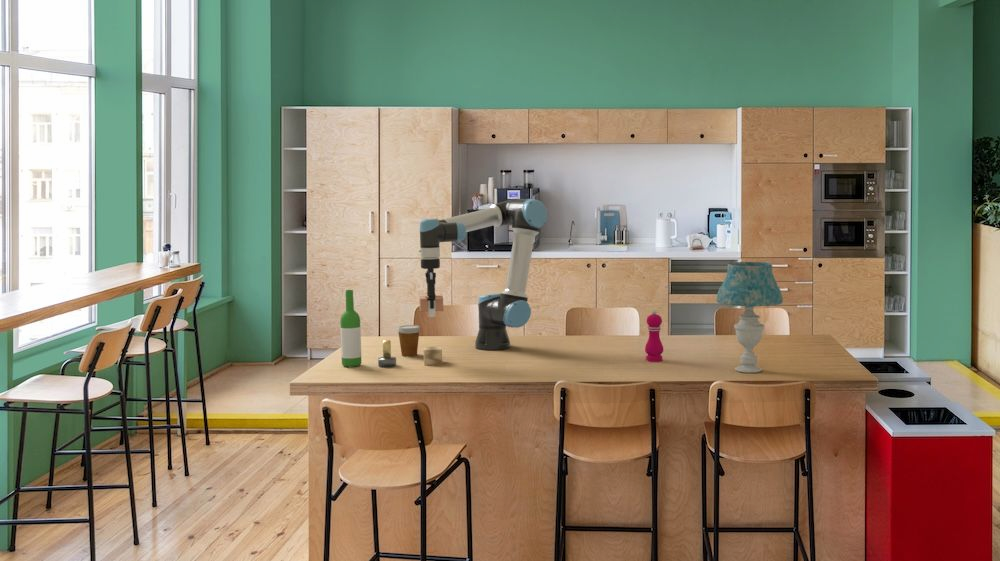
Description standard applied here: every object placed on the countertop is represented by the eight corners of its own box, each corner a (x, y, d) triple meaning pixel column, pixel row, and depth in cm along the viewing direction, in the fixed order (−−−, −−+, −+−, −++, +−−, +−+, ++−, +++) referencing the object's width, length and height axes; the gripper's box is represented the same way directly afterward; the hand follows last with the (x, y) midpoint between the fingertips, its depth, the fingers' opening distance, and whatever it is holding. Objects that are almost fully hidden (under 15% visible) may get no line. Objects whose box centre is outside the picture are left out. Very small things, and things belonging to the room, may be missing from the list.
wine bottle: (345, 368, 385) (342, 291, 382) (339, 365, 392) (336, 289, 389) (364, 366, 389) (362, 290, 385) (357, 363, 396) (355, 288, 392)
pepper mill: (664, 359, 393) (665, 309, 391) (661, 362, 386) (661, 312, 384) (646, 358, 395) (646, 308, 393) (643, 361, 389) (643, 311, 387)
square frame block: (442, 307, 395) (441, 295, 395) (443, 311, 386) (443, 298, 386) (419, 308, 394) (419, 296, 394) (420, 311, 385) (420, 299, 385)
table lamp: (793, 375, 359) (795, 265, 355) (732, 379, 354) (733, 268, 350) (763, 363, 382) (764, 260, 378) (705, 366, 377) (706, 262, 373)
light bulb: (396, 363, 393) (395, 338, 392) (396, 367, 386) (395, 341, 385) (378, 364, 392) (377, 339, 391) (378, 367, 385) (377, 342, 384)
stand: (441, 361, 396) (441, 346, 396) (442, 364, 390) (441, 349, 389) (423, 361, 396) (423, 347, 395) (424, 365, 389) (424, 350, 388)
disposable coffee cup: (417, 357, 405) (416, 328, 404) (394, 357, 407) (394, 328, 406) (423, 353, 414) (422, 325, 413) (401, 352, 416) (401, 324, 415)
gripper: (419, 256, 398) (421, 311, 401) (421, 260, 377) (423, 319, 379) (438, 255, 399) (439, 310, 402) (441, 260, 378) (442, 318, 380)
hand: (431, 314), depth 391 cm, fingers closed on square frame block, 9 cm apart
